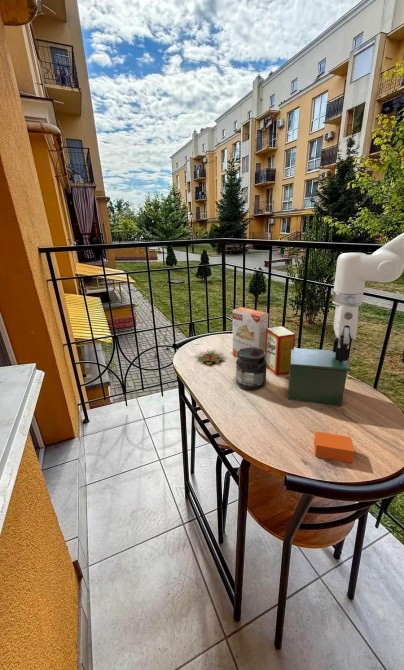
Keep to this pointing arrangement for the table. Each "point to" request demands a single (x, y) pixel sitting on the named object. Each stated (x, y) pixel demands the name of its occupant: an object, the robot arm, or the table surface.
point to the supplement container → (251, 368)
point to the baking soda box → (279, 349)
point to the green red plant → (210, 358)
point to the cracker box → (249, 329)
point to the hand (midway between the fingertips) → (339, 355)
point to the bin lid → (317, 359)
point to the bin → (316, 385)
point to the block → (333, 447)
